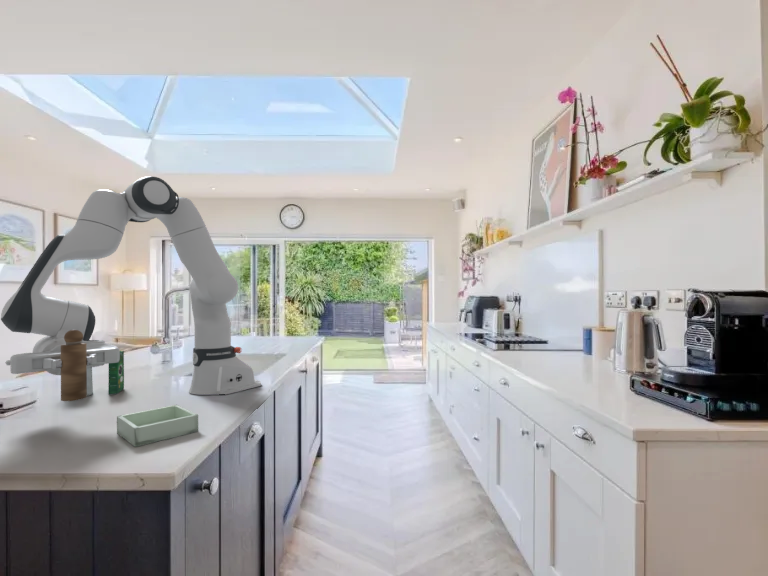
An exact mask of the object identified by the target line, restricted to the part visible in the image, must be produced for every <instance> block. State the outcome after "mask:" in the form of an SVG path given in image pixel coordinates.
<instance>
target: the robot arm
mask: <svg viewBox="0 0 768 576" xmlns="http://www.w3.org/2000/svg"><path fill="white" fill-rule="evenodd" d="M154 219H157V220H159V221H160V222H161V223H162V224H163V225H164V226H165V228H166V229H167V233H168V234H169V237H170V239H171V242H172V244H173V246H174V249H175V251H176V253H177V256H178V258H179V260H180V261H181V263H182V265H184V267H185V269H186V270H187V272H188V274H189V275H190V276H191V277H192V280H191V281H190V283H189V289H188V291H189V294H190V300H191V301H190V302H191V310H192V315H193V322H194V323H193V324H194V325H193V327H194V348H192V350H193V351H192V363H193V372H192V380H191V384H190V387H189V390H188V393H190V394H193V395H203V396H204V395H205V396H206V395H219V394H225V395H229V394H233V393H237V392H242V391H245V390H250V389H254V388H259V387H261V386H262V382H261V381H260V380H258V379H256V378H255V374H254V371H253V370H254V369H253V368H252V367H251V365H249V364H248V363H246V362H245V361H243V360H242V359H240V358H239V357H238V356H237V355H236V354H241V353H242V352H243V350H242V348H241V347H240V346H236V347H234V346H232V343H231V342H232V335H231V333H232V328H231V326H232V325H231V320H230V317H229V313H228V307H227V304H228V303H229V302H231V301H232V300H233V299H235V297H236V296H237V294H238V293H239V283H238V281H237V280H236V278H235V277H234V276H233V275H232V273H231V272H230V270H229V269H228V267H227V265H226V263H225V262H224V260H223V259H222V258H221V256H220V254H219V253H218V251H217V249H216V247H215V245H214V242H213V240H212V238H211V235H210V233H209V230H208V227H207V226H206V223H205V221H204V220H203V219H204V218H203V217H202V216H201V214H200V212H199V210H198V208H197V207H196V205H195V204H194V202H193V201H192V200H191V199H189V198H187V197H183V196H182V197H181V196H180V197H179V195H178V193H177V192H176V191H175V190H173V188H172V187H171V185H170V184H168V182H167V181H165V180H164V179H162V178H160V177H157V176H152V175H151V176H149V175H148V176H144V177H140V178H139V179H137V180H136V181H133V182H132V183H131V184H130V185H128V186H127V187H126V189H124V190H123V191H122V192H116V191H113V190H110V189H97V190H94V191H93V192H92V193H91V194H90V195H89V196H88V198H87V199H86V201H85V203H84V205H83V206H82V208H81V210H80V212H79V214H78V217H77V219H76V221H75V225H73V227H72V228H71V229H70V231H68V232H66V233H65V234H57V235H56V236H55V237H54V238H53V239H51V241H50V242H49V243H48V244H47V246H46V247H45V248H44V250H43V251H42V253H41V254H40V255H39V256H38V258H37V260H36V261H35V263H34V264H33V266H32V267H31V269H30V270H29V272H28V273H27V275H26V276H25V278H24V279H23V281H22V283H21V285H20V286H19V287H18V288H17V290H16V292H15V293H14V294H12V295H11V297H9V299H8V300H7V301H6V302H5V304H4V306H3V308H2V310H1V313H0V314H1V315H0V321H1V322H2V323H3V325H4V326H5V327H6V328H7V329H8V330H10V332H13V333H14V332H15V333H23V334H34V335H35V334H36V335H41V336H42V335H43V336H45V337H42V338H41V339H39V340H38V341H37V342H36V343H35V344H34V345H33V348H32V352H25V353H17V354H12V355H11V356H10V360H6V361H5V365H6V366H10V374H12V375H20V374H27V373H37V372H44V371H45V372H46V373H49V374H51V375H53V376H54V375H55V376H61V368H62V365H61V363H62V360H61V345H63V344H66V342H65V340H64V336H65V334H66V333H67V332H68V331H70V330H74V329H75V330H79V331H81V332H82V334H83V340H82V343H87V368H91V367H92V368H97V367H100V366H101V367H102V366H104V365H109V363H117V362H119V360H120V351H121V349H120V348H119V347H118V346H117V345H114V344H111V343H106V341H105V340H100V339H91V337H92V336H93V333H94V331H95V326H96V315H95V313H94V311H93V310H92V308H91V307H90V306H89V304H85V303H82V302H81V303H80V302H76V301H72V300H71V301H70V300H66V299H62V298H57V297H52V296H47V295H45V294H43V293H41V291H42V289H44V286H45V285H46V283H47V282H48V280H49V279H50V277H51V275H52V274H53V272H54V271H55V269H56V267H57V266H59V264H61V263H64V262H67V261H75V260H76V261H77V260H78V261H79V260H80V261H82V260H85V261H86V260H88V261H89V260H99V259H103V258H104V259H105V258H107V257H109V256H112V255H113V254H114V253H115V252H116V251H117V250H118V248H119V246H120V244H121V243H122V240H123V236H124V232H125V230H126V226H128V223H129V222H133V223H147V222H149V221H151V220H154ZM90 339H91V340H90Z"/></svg>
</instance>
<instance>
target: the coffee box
mask: <svg viewBox="0 0 768 576" xmlns="http://www.w3.org/2000/svg"><path fill="white" fill-rule="evenodd" d="M124 353H125V350H120V360H119V362H117V363H108V382H107V383H108V384H107V385H108V386H107V387H108V389H107V390H108V393H107V394H108V395H109V396H110V395H117V394H120V393H121V392H122V391H124V389H125V354H124Z"/></svg>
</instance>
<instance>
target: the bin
mask: <svg viewBox="0 0 768 576" xmlns="http://www.w3.org/2000/svg"><path fill="white" fill-rule="evenodd" d="M197 432H199V414H198V413H196V412H193V411H192V410H188V409H187V408H184V407H183V406H180V405H178V404H173V405H168V406H163V407H159V408H152V409H148V410H142V411H137V412H133V413H127V414H122V415H117V416H116V433H117V434H118V435H119V436H120V435H121V436H120V437H122V438H123V439H124V440H125V441H127V442H128V443H130V445H132V446H133V447H135V448H136V447H140V446H144V445H148V444H152V443H156V442H160V441H164V440H170V439H173V438H177V437H180V436H185V435H189V434H193V433H197Z"/></svg>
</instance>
